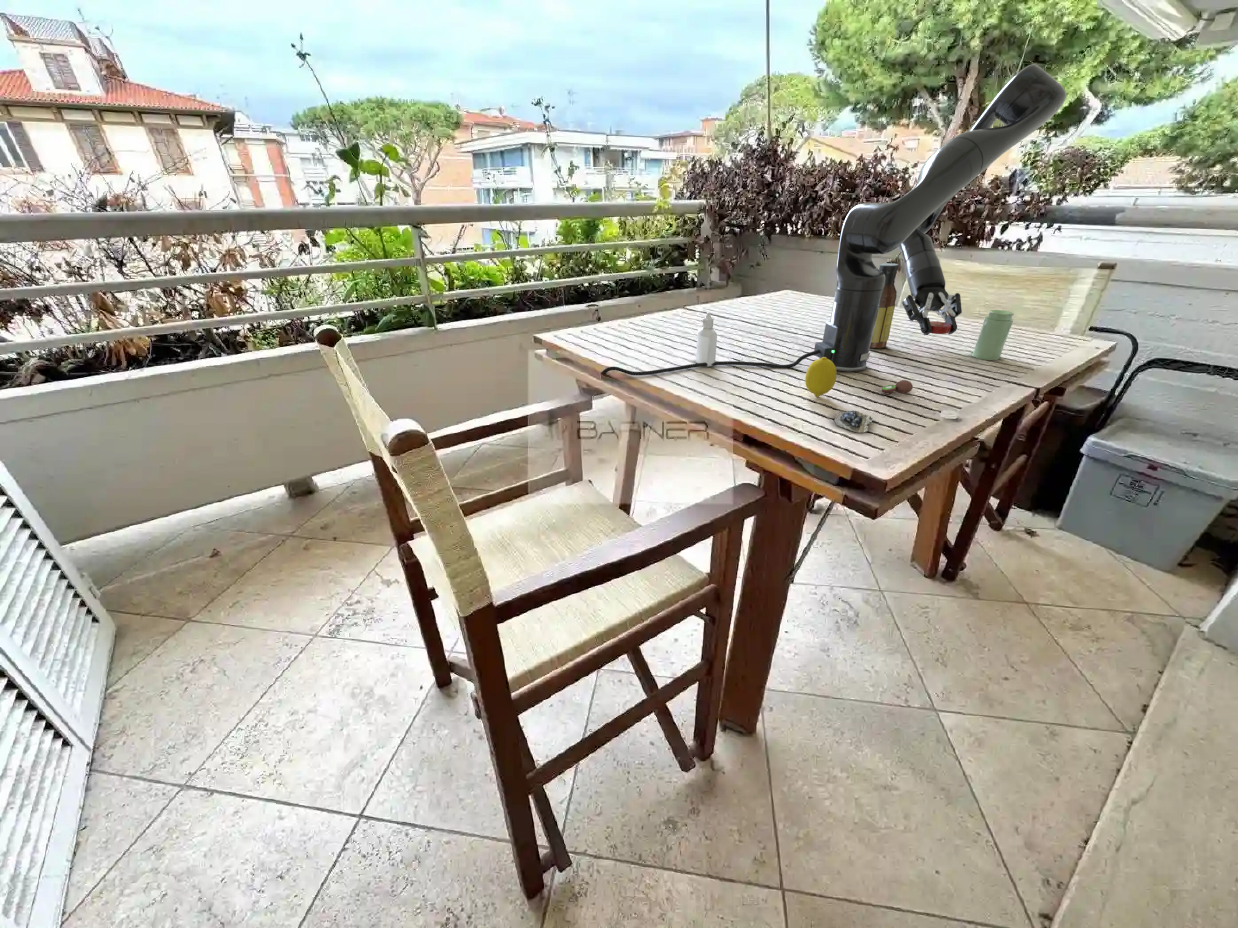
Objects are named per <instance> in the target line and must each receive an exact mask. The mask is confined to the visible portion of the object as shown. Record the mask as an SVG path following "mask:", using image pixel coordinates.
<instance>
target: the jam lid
mask: <svg viewBox="0 0 1238 928" xmlns="http://www.w3.org/2000/svg"><path fill="white" fill-rule="evenodd" d="M930 324H931V327H932V332H931V333H930V334H934V335H946V334H948V333H949V332H950V330H951V324H949V323H945V321H936V320H935V321H931V320H930Z"/></svg>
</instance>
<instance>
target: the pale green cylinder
mask: <svg viewBox="0 0 1238 928" xmlns="http://www.w3.org/2000/svg"><path fill="white" fill-rule="evenodd" d="M1014 314H1015V313H1014V312H1013V311H1010V310H1004V309H1003V310H1002V309H991V310H990V311H989V313H988V316H987V315H986V316H985V317H984V319H983V321H982V326H981V328H980V331H979V334H978V337H977V339H976V343H975V346H974V349H973V351H972V354H971V356H972V357H973V358H976V359H979V360H982V361H983V360H984V361H999V360H1000V358H1001V356H1002V352H1003V350H1004V348H1005V344H1006V342H1007V340H1008V337H1009V334H1010V331H1011V329H1012V326H1013V324H1014V319H1013V316H1014Z"/></svg>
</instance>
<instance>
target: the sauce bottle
mask: <svg viewBox="0 0 1238 928" xmlns="http://www.w3.org/2000/svg"><path fill="white" fill-rule="evenodd" d="M878 269H879V270H880V271H881V272H883V273H884V274H885V276H886V280H885V285H884V288H883V294H882V298H881V302H880V306H879V311H878V315H877V319H876V323H875V328H874V332H873V336H872V341H871V345H870V349H883V348H886V346H887V345H888V344H887V343H888V340H889V337H890V332H891V326H892V323H893V318H894V313H895V308H896V300H897V294H898V293H897V289H896V286H895V282H896V281H895V279H896V275H897V271H898V270H899V264H898V263H888V262H887V263H881V264H879V267H878Z"/></svg>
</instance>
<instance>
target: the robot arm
mask: <svg viewBox="0 0 1238 928" xmlns="http://www.w3.org/2000/svg"><path fill="white" fill-rule="evenodd" d="M1067 95H1068V94H1067V91H1066V89H1065V88H1064V86H1063V85H1062V84H1061V83H1060V82H1059V81H1057V80H1056V79H1055V78H1054V77H1053V76H1052V75H1051V74H1049V73H1048V72H1047V71H1046V70H1044V69H1043V68H1042V67H1040V66H1039V65H1038V64H1036V63H1031V64H1029V65H1027V66H1025V67H1023V68H1022V69H1021V70H1019V71H1018V72H1017V73H1016V74H1015V75H1014V76H1013V77H1012V78H1011V79H1010V80H1008V82H1007V83H1006V84H1004V86H1003V87H1002V88H1001V89H1000V91H998V93H997V94H996V95H995V96H994V98H993V99H992V100H991V101H990V103H989V104H988V106H987V107H986V108H985V109H984V111H983V112H982V113H981V115H980V116H979V117H978V119H977V120H976V121H975V123H974V124H973V125H972V126H971V128H970V129H969V130H968V131H965V132H962V133H959V134H958V135H955V136H954V137H952V138H951V139H950V140H948V141H946V143H944V144H943V145H942V146H940V148H938V149H937V150H936V151H935V152H933V153H932V154H931V155H930V156H929V157H928V158H927V160H925V162H924V163H923V165H922V166H921V168H920V171H919V174H918V177H917V181H916V185H915V186H914V187H912V188H911V190H910V191H908V192H907V193H906V194H904V195H902V196H901V197H900V198H898V199H896V200H893V201H890V202H862V203H859V204H856V205H854V207H852V208H851V209H850V210H849V211H848V213H847V215H846V217H845V219H844V221H843V224H842V227H841V232H840V237H839V244H838V251H837V259H836V267H835V272H836V278H837V282H836V288H835V293H834V298H833V304H832V309H831V313H830V320H829V321H826V322H825V325H824V331H823V337H822V341H820V342H819V341H818V342H817V341H816V342H815V343H814V349H813V351H810V352H807V353H805V354H802V355H801V356H799V357H798V358H797V359H796V360H795V361H794V362H792V363H788V364H776V363H769V362H755V361H742V360H741V361H738V360H737V361H736V360H723V361H722V360H721V361H715V362H714V363H713V364H712V365H713V366H712V367H714V366H748V367H766V368H771V369H791V368H794V367H796V366H798V365H799V364H800V363H801V362H802V361H803V360H805V359H807V358H810V357H812V356H816V357H817V358H818V359H821V358H822V357H826V358H827V359H829V360H830V361H832V362H833V363H834V365H835V367H836V371H838V372H848V373H849V372H850V373H851V372H860V371H864V370H865V369H866V368H867V361H868V360H869V358H870V354H871V352H870V349H871V348H870V345H871V341H872V336H873V332H874V328H875V323H876V319H877V315H878V311H879V306H880V302H881V298H882V294H883V288H884V285H885V280H886V276H885V274H884V273H883V272H881V271H880V270H879V268H878V267H877V266H876V265H875V263H874V261H873V255H884V254H889V253H891V252H892V251H894V250H896V249H898V250H899V252H900V253H901V257H902V261H903V264H904V272H905V276H906V281H907V284H908V288H909V292H910V294H908V295H907V296H905V297H904V299H903V300H902V301H901V304H902V306H903V308H904V311H905V313H906V316H907V317H908V319H909V321H910V322H913V321H916V323H918V324H919V328H920V332H921V333H922V334H923V336H928V335H930V334H932V333H931V332H932V327H931V324H930V322H931V320H930V317H929V312H935V313H936V314H937V315H938V316H940V317H941V318H942V319H943V321H944V322H945V323H949V324H951V330H950V332H949V333H947V334H948V335H953V334H954V333H955V332H956V331H957V330H958V323H957V321H956V318H957V317H959V316H960V315H961V314H962V313H963V309H962V300H961V299H962V298H961V294H960V293H959V292H956V293H955V294H949V292H947V290H946V280H945V276H944V272H943V269H942V266H941V262H940V259H939V257H938V256H937V252H936V249H935V246H934V243H933V240H932V238H931V236H930V235H928V234H927V232H928V231H930V229H931V228H932V227H933V225H934V223H935V222H936V220H937V219H938V217H939V216H940V214H941V212H942V211H943V209H944V208H945V206H946V205H947V204H948V203H949V202H950V201H951V200H952V199H953V198H954V197H955V196H956V195H957V194H958V193H959V192H960V191H961V190H962V189H964V188H965V187H966V186H967V185H969V184H970V183H971V182H972V181H973V180H975V179H976V178H977V177H978V176H979V175H980V174H982V173H983V172H984V171H985V170H986V169H987V168H988V167H990V166H991V165H992V164H993V163H994V162H995V161H997V159H999V158H1000V157H1002V155H1004V154H1005V153H1007V152H1008V151H1009V150H1011V149H1012V148H1013V147H1014V146H1016V145H1017V144H1018V143H1020V142H1022V141H1023V140H1024V139H1025V138H1027V137H1028V136H1030V135H1031V134H1032V133H1034V132H1036V131H1037V130H1038V129H1039V128H1041V127H1042V126H1043V125H1044V124H1046V123H1047V122H1048V121H1049V120H1050V119H1051V118H1052V117H1054V115H1055V114H1056V113H1058V112H1059V110H1060V109H1061V107H1062V106H1063V105H1064V103H1065V101H1066V99H1067ZM997 120H998V121H999V122H1000V123H1002V124H1003V125H1004V126H997V127H996V126H995V127H993V125H994V124H995V122H996V121H997ZM707 365H708V364H707V363H697V362H696V363H690V364H685V365H683V364H682V365H678V366H673V367H665V368H660V369H653V370H647V371H646V370H644V371H633V370H629V369H625V368H622V367H619V366H608V367H606V368H604V369H603V370H601V372H600V374H602V375H605V374H607V373H608V372H611V371H616V372H620V373H622V374H625V375H629V376H637V377H638V376H639V377H640V376H649V375H650V376H651V375H658V374H662V373H670V372H676V371H681V370H688V369H694V368H702V367H703V368H704V367H706V366H707Z"/></svg>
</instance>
